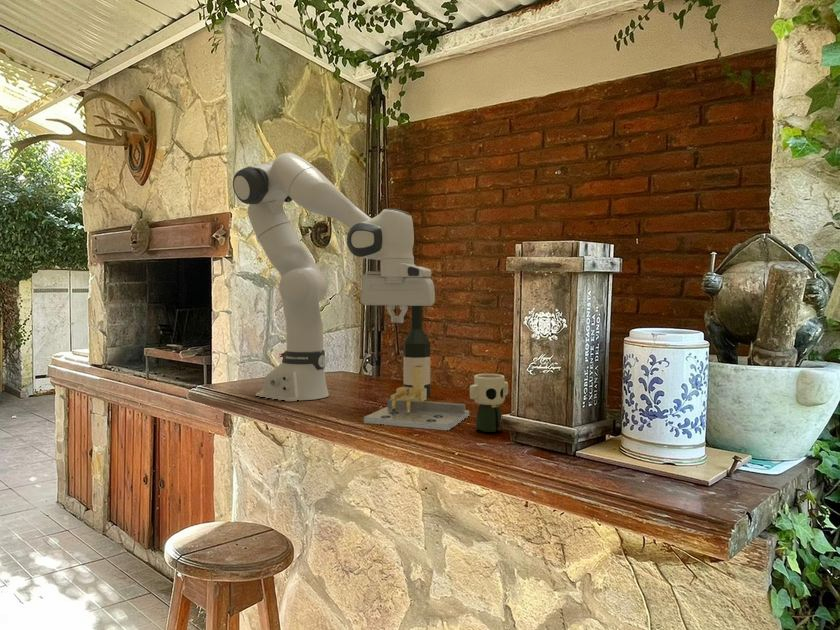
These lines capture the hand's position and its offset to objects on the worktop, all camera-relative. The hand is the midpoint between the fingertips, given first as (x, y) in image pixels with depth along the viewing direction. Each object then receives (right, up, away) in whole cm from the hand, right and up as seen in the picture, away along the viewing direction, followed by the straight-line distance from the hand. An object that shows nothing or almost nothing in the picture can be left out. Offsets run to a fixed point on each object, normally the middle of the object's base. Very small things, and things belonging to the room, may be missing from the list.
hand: (397, 322), depth 160 cm
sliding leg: (+5, -22, -4) cm, 23 cm away
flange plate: (+5, -24, -7) cm, 26 cm away
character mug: (+22, -25, -19) cm, 39 cm away
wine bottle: (+5, -23, +25) cm, 34 cm away
